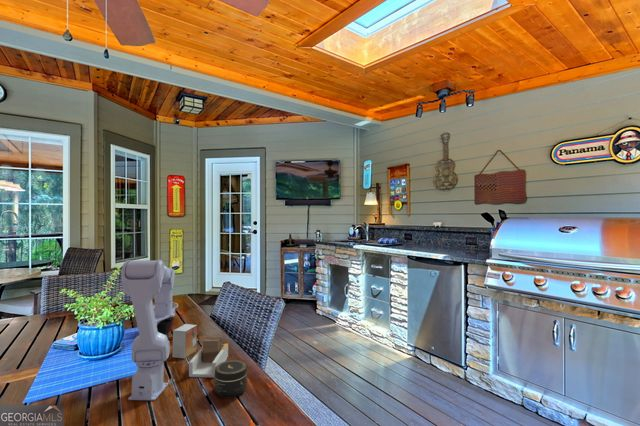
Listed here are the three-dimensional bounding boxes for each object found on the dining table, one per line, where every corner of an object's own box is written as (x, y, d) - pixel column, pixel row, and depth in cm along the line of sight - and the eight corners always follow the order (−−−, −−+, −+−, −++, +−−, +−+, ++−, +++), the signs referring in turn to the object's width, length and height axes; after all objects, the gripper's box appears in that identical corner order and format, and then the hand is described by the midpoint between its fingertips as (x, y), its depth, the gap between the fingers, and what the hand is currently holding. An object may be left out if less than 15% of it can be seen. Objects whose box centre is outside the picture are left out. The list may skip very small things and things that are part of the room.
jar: (230, 403, 98) (231, 377, 98) (206, 393, 102) (207, 369, 102) (253, 388, 106) (253, 364, 106) (230, 379, 111) (230, 357, 111)
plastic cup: (155, 336, 147) (156, 309, 147) (149, 329, 156) (150, 304, 156) (180, 331, 154) (181, 305, 154) (174, 325, 163) (174, 300, 163)
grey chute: (215, 377, 112) (215, 362, 112) (188, 377, 112) (189, 361, 112) (227, 356, 128) (228, 343, 128) (204, 356, 128) (204, 343, 128)
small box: (185, 359, 126) (185, 331, 126) (171, 357, 127) (172, 330, 127) (196, 350, 134) (197, 324, 134) (184, 349, 135) (185, 323, 135)
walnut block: (217, 362, 121) (218, 341, 121) (202, 362, 121) (203, 340, 121) (221, 356, 126) (222, 336, 126) (207, 356, 126) (207, 335, 126)
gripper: (164, 308, 110) (164, 348, 110) (183, 296, 125) (182, 332, 125) (143, 307, 110) (143, 347, 110) (164, 295, 125) (164, 331, 125)
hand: (162, 339), depth 118 cm, fingers closed
